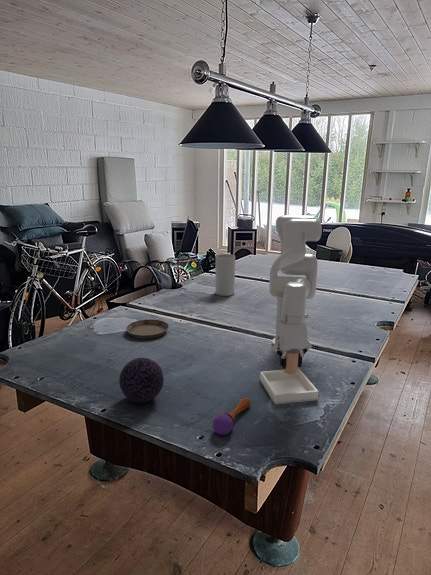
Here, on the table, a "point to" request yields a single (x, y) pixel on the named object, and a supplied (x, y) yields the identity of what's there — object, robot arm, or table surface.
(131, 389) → the toy ball
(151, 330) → the plant saucer
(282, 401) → the tray
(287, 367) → the cylinder
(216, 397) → the table surface
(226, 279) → the cylinder vase
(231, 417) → the brown purple handled piece
